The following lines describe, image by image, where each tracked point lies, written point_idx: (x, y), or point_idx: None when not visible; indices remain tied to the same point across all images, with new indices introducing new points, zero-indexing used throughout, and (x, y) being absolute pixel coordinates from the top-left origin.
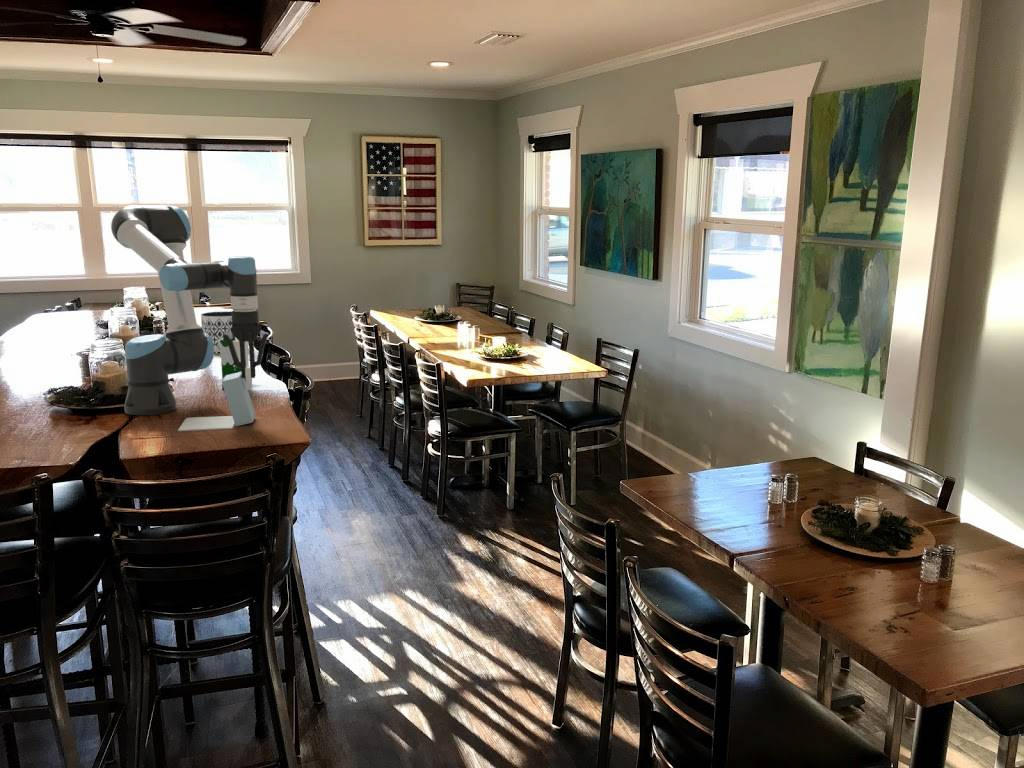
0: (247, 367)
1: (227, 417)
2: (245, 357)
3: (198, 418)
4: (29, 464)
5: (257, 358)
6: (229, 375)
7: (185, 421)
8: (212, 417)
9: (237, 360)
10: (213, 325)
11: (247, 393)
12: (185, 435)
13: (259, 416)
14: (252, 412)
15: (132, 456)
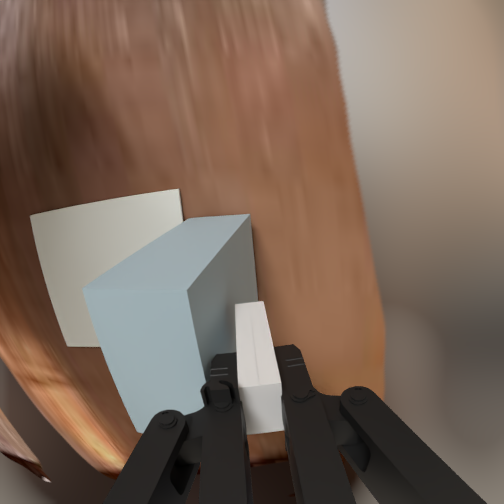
0: (258, 414)
1: (146, 215)
2: (244, 459)
3: (61, 225)
4: (4, 447)
5: (356, 471)
6: (116, 328)
7: (43, 261)
8: (97, 213)
9: (192, 483)
10: None
11: (233, 288)
12: (105, 380)
13: (258, 186)
14: (251, 272)
15: (94, 464)
